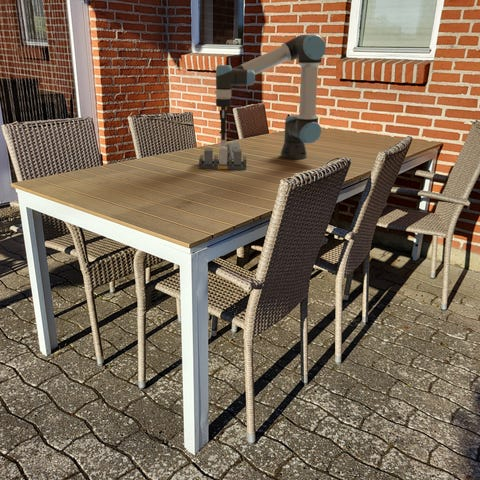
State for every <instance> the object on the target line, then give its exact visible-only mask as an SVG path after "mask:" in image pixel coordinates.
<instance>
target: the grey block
mask: <svg viewBox="0 0 480 480" xmlns="http://www.w3.org/2000/svg"><path fill="white" fill-rule="evenodd" d="M218 151H219V152H218V153H219V156H218V158H219V159H218V161H219V166H227V161H228V159H227V146H221V145H219V148H218Z"/></svg>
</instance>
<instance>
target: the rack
mask: <svg viewBox="0 0 480 480" xmlns="http://www.w3.org/2000/svg"><path fill="white" fill-rule="evenodd" d="M242 149H243V148H240V149H237V148H234V159H233V160H232V156H229V159H228V160H227V166H219V159H218V158H219V156H218V155H217V154H216V155H214V147H205V148H204V151H203V153H204V154H200V156H199V159H198V161H199V162H198V163H199V165H198V169H199V170H229V171H230V170H234V171H236V170H237V171H243V170H245V171H246V170H247V156H246V155H243V154H242V153H243V152H242ZM242 158H243V159H242Z"/></svg>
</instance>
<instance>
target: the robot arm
mask: <svg viewBox="0 0 480 480" xmlns="http://www.w3.org/2000/svg"><path fill="white" fill-rule="evenodd" d="M326 51H327V45H326V42H325V40H324V39H323V37H322V36H320V35H318V34H313V33H312V34H311V33H310V34H299V35H298V36H296V37H293V38H292V39H290V40H288V41H286V42H284V43H282V44H281V45H280V47H277V48H275V49H273V50H270V51H268V52H266V53H264V54H262V55H259V56H257V57H256V58H255V57H254V58H253V59H251V60H249V61H246V62H244V63H242V64H239V65H238V66H236V67H232V65H230V64H229V65H227V64H223V65H222V64H219V65H217V66H216V68H215V90H214V93H215V98H216V99H215V106H216V107H217V108H218V107H219V108H220V110H219V121H220V131H219V134H220V146H226V145H227V133H228V131H227V119H228V109H227V108H230V107H231V106H232V99H231V98H232V87H233V86H235V87H236V86H239V87H240V86H242V87H243V86H246V87H248V86H253V85H254V84H255V81H256V75H258V74H260V73H262V72H265V71H267V70H269V69H271V68H273V67H277V66H278V65H280V64H282V63H285V62H288V63H289V62H291V61H295V60H298V61H297V62H298V65H299V66H300V92H299V114H298V115H289V116H286V117H285V121H284V137H283V138H284V141H283V145H282V148H281V150H280V157H281V158H283V159H287V160H289V159H290V160H302V159H306V158H307V156H308V155H307V154H308V153H307V149H306V144H313V143H314V144H315V143H316V141H318V140H319V139H320V137H321V134H322V127H321V125H320V123H319V116H318V115H317V114H316V111H317V110H316V109H317V91H318V73H319V72H318V71H319V70H318V69H319V66H320V65H321V64H322V58H323V57H324V55H325V54H326Z"/></svg>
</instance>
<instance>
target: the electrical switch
mask: <svg viewBox="0 0 480 480" xmlns="http://www.w3.org/2000/svg"><path fill="white" fill-rule="evenodd" d="M226 146H227V160H229V156H232V161H234V148H237V149H241V145H240V141H239V140H238V141H234V142H233V141H232V142H228V143H226Z"/></svg>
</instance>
